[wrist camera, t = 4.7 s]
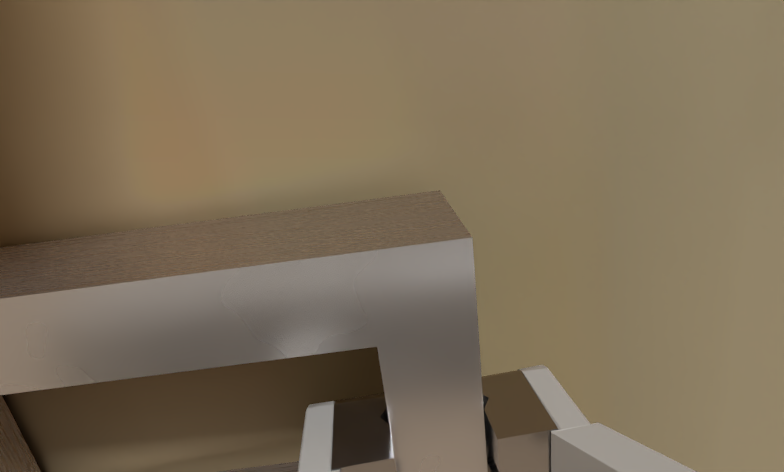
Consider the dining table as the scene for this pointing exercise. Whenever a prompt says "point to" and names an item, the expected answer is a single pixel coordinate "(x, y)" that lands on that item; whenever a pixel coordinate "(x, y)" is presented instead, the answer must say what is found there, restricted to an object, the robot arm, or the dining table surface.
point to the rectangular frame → (260, 312)
